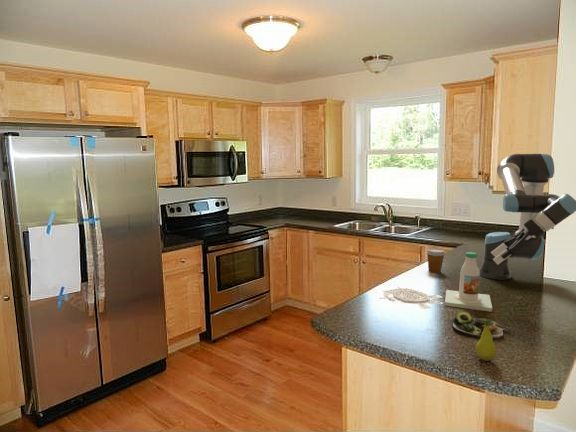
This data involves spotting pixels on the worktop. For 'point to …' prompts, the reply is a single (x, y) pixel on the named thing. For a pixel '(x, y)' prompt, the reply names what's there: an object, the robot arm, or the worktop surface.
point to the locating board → (468, 301)
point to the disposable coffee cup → (435, 260)
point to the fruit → (485, 345)
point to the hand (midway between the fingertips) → (494, 258)
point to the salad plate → (476, 325)
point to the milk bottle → (469, 278)
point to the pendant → (412, 296)
